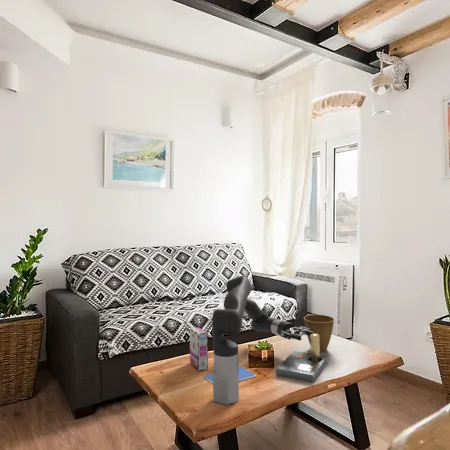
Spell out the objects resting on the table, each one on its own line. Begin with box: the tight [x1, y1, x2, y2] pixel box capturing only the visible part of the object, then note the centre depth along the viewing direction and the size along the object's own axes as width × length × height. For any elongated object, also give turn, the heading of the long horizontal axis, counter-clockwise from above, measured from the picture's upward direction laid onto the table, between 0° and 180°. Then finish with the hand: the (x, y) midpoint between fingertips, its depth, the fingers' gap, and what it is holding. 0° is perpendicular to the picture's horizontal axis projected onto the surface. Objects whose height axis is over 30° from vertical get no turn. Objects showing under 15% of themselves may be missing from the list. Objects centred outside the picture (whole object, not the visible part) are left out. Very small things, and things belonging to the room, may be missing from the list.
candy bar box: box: [189, 326, 209, 371], centre depth 174 cm, size 11×5×16 cm, turn 25°
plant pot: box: [303, 313, 335, 353], centre depth 194 cm, size 15×15×16 cm
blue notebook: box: [203, 365, 257, 384], centre depth 162 cm, size 19×13×1 cm, turn 122°
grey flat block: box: [275, 350, 328, 384], centre depth 169 cm, size 24×16×3 cm, turn 152°
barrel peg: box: [309, 334, 321, 362], centre depth 173 cm, size 4×4×14 cm
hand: (307, 336), depth 176 cm, fingers open, 8 cm apart
